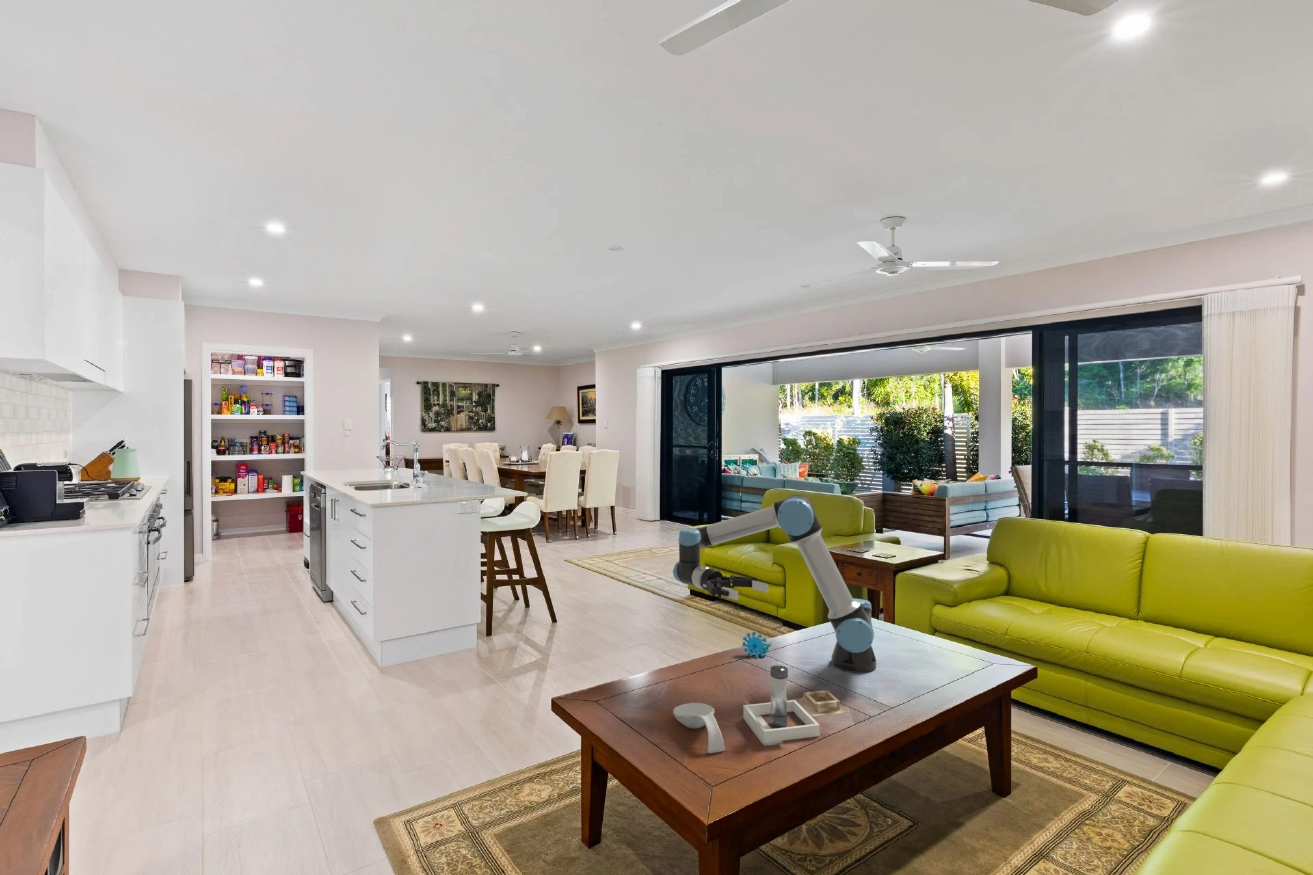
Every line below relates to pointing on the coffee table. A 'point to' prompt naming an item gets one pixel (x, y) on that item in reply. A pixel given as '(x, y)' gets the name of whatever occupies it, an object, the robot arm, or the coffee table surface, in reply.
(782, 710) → the capped clear cylinder
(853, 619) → the robot arm
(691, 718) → the spoon rest
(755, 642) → the gear
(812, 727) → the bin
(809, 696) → the socket block
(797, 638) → the coffee table surface
